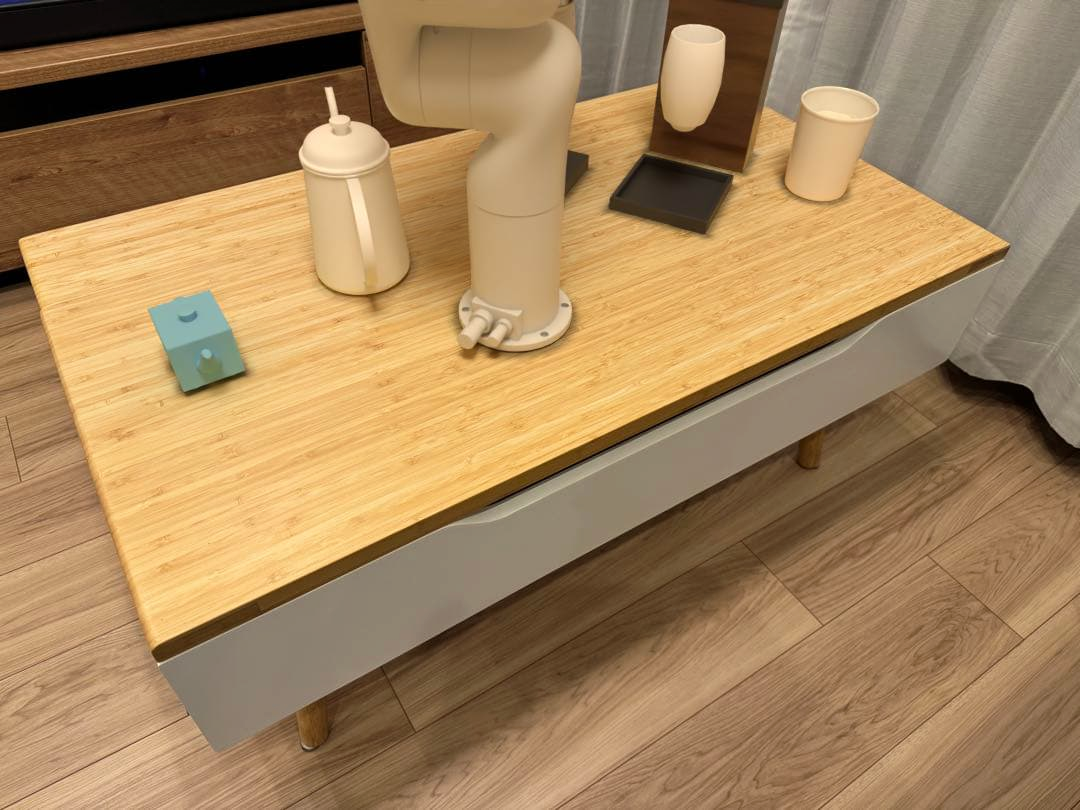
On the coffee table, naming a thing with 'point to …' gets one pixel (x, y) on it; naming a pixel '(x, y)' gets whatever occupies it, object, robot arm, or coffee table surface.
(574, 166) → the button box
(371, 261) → the coffeepot
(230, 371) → the teal peg block
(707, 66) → the cream vase
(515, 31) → the robot arm
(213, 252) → the coffee table surface
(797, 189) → the cream open tapered cylinder
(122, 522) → the coffee table surface
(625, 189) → the drip pan
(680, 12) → the column
